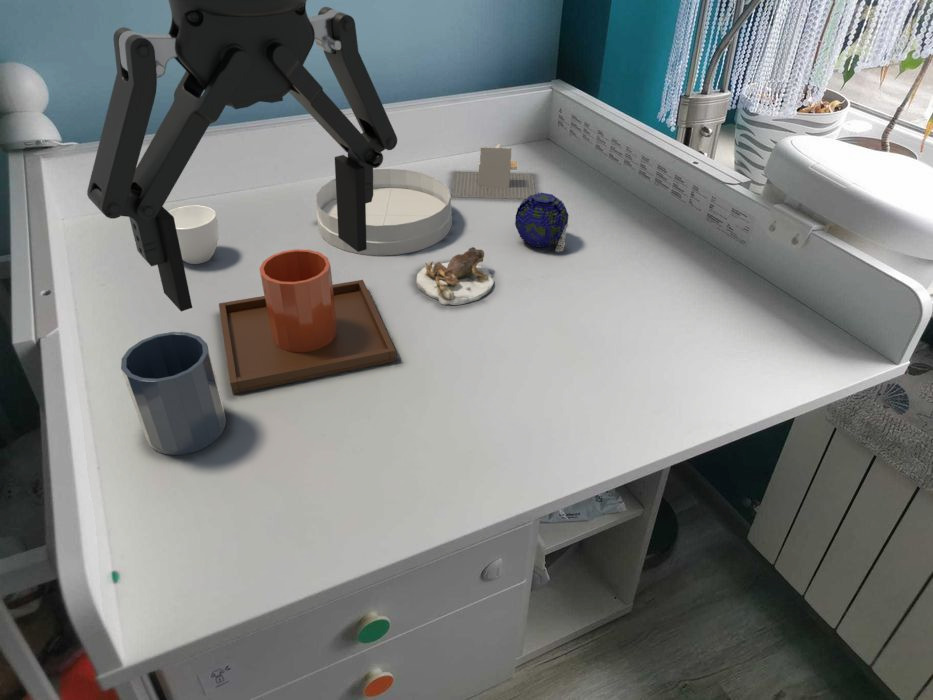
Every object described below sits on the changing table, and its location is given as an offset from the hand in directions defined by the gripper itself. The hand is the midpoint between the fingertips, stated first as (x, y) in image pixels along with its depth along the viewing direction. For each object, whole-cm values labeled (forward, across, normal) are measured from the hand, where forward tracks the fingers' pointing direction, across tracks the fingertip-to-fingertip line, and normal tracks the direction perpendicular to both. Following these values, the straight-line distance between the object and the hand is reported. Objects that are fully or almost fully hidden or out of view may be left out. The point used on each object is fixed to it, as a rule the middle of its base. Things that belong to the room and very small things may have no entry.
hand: (271, 270), depth 50 cm
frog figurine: (+28, +40, +24) cm, 54 cm away
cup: (+30, +13, +55) cm, 64 cm away
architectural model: (+28, +67, +46) cm, 86 cm away
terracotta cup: (+28, +16, +26) cm, 41 cm away
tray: (+28, +16, +26) cm, 41 cm away
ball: (+27, +58, +24) cm, 69 cm away
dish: (+28, +43, +45) cm, 68 cm away
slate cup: (+28, -3, +19) cm, 34 cm away
